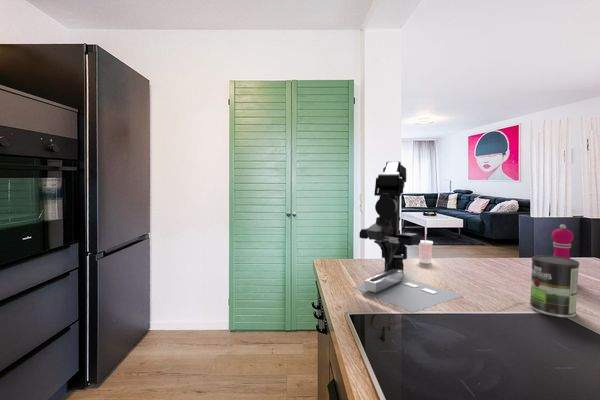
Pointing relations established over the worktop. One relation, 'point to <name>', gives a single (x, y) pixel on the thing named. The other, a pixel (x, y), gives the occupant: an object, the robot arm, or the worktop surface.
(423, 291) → the label board
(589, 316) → the worktop surface
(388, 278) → the bar
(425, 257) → the beverage cup
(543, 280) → the coffee can
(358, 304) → the worktop surface
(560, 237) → the pepper mill
